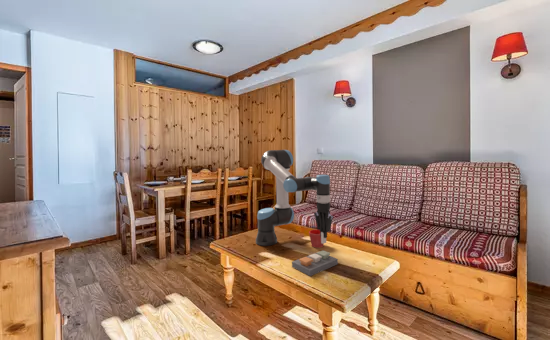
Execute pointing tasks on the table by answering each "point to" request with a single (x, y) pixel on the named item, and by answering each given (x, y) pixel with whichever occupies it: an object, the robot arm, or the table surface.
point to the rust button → (306, 261)
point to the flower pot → (315, 238)
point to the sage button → (324, 254)
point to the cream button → (315, 257)
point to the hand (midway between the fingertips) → (323, 242)
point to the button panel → (315, 265)
